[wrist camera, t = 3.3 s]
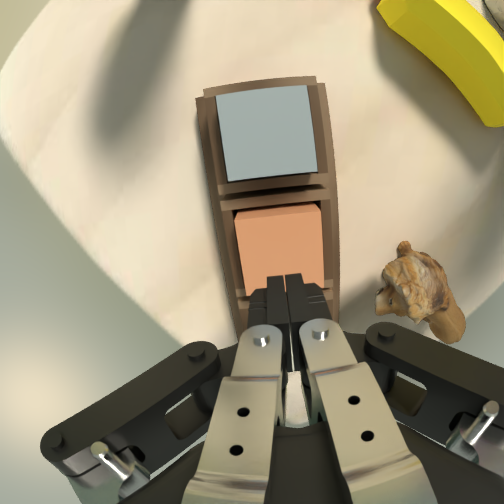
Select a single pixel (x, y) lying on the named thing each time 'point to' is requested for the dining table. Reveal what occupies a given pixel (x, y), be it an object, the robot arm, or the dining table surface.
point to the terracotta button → (280, 243)
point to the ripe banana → (455, 48)
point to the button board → (271, 190)
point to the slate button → (267, 132)
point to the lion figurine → (420, 294)
